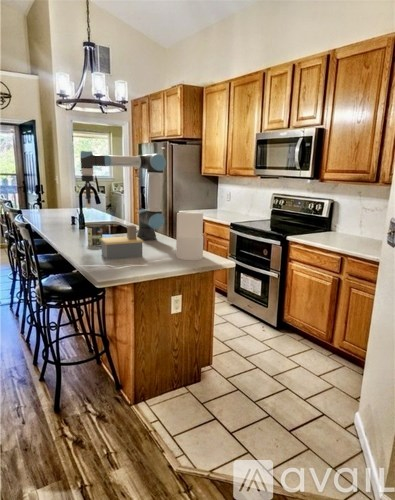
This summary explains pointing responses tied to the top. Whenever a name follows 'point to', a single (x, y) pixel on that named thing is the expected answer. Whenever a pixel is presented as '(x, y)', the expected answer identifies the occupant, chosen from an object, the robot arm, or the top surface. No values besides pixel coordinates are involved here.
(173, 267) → the top surface
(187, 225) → the cylinder
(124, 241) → the lid
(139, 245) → the tub
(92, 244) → the coffee can
